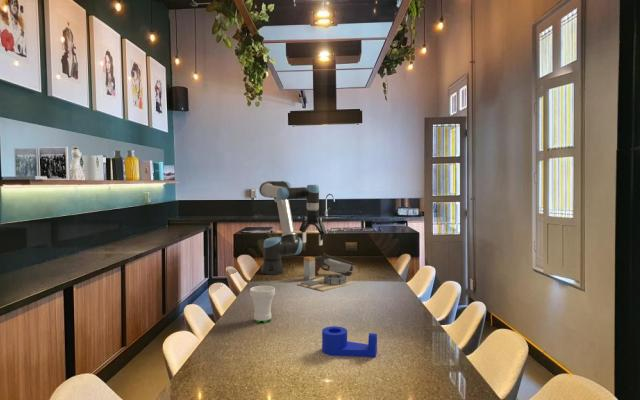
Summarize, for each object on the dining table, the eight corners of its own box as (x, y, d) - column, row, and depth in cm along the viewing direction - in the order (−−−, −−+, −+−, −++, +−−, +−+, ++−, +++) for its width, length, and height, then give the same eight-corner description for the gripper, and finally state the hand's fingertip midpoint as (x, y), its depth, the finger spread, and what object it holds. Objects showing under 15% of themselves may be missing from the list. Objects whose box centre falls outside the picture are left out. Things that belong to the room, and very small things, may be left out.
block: (303, 279, 266) (303, 257, 266) (309, 278, 270) (309, 256, 269) (309, 281, 263) (309, 258, 262) (315, 279, 266) (315, 257, 266)
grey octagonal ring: (319, 282, 256) (319, 276, 256) (334, 278, 266) (334, 273, 265) (335, 286, 247) (335, 280, 247) (350, 282, 256) (350, 276, 256)
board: (296, 284, 254) (296, 283, 254) (327, 277, 272) (327, 276, 272) (323, 291, 238) (323, 290, 238) (353, 283, 256) (353, 282, 256)
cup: (254, 326, 181) (254, 293, 181) (246, 318, 191) (246, 287, 190) (279, 322, 186) (279, 289, 186) (270, 315, 196) (269, 284, 196)
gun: (348, 285, 278) (355, 263, 277) (308, 273, 278) (314, 251, 278) (348, 283, 283) (355, 261, 282) (308, 271, 283) (315, 250, 282)
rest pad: (300, 283, 254) (300, 282, 254) (311, 280, 260) (311, 280, 260) (310, 286, 247) (310, 285, 247) (321, 283, 254) (321, 282, 254)
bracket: (319, 355, 152) (319, 333, 151) (325, 345, 161) (325, 325, 160) (374, 360, 147) (374, 338, 147) (377, 350, 156) (377, 329, 156)
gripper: (293, 208, 269) (293, 242, 271) (324, 211, 253) (324, 246, 255) (301, 208, 275) (301, 240, 276) (332, 210, 259) (331, 245, 260)
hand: (312, 243), depth 265 cm, fingers open, 13 cm apart
